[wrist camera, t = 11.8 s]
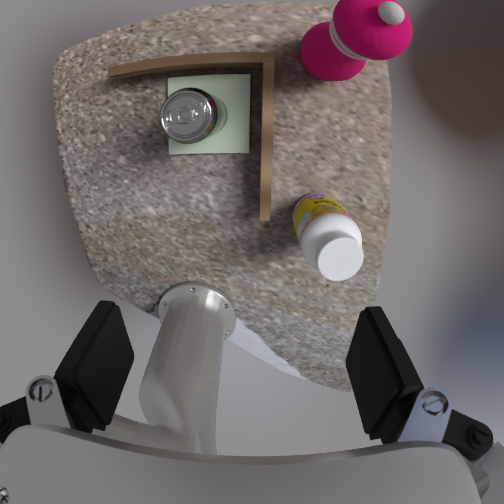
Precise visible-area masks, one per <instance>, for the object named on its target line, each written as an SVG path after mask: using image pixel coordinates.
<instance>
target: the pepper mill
mask: <svg viewBox="0 0 504 504" xmlns="http://www.w3.org/2000/svg"><path fill="white" fill-rule="evenodd" d="M411 37H412V27H411V22H410V19H409V17H408V15H407V13H406V12H405V10H404V9H403V8H402V6H401V5H400V4H399V3H398V2H396V1H395V0H340V1H339V2H338V3H337V5H336V7H335V9H334V12H333V18H332V20H331V22H323V23H319V24H317V25H315V26H313V27H312V28H311V29H310V30H309V31H308V32H307V33H306V34H305V35H304V37H303V39H302V43H301V50H300V60H301V63H302V65H303V67H304V68H305V70H306V71H307V72H308V73H309V74H310V75H312V76H313V77H315V78H318V79H321V80H326V81H329V80H331V81H343V80H347V79H350V78H352V77H354V76H355V75H357V74H358V73H359V72H360V71H361V70H362V68H363V67H364V65H365V63H366V60H370V59H372V60H387V59H391V58H394V57H396V56H398V55H400V54H401V53H402V52H403V51H404V50H405V49H406V48H407V47H408V45H409V43H410V40H411Z"/></svg>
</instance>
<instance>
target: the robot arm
mask: <svg viewBox="0 0 504 504" xmlns="http://www.w3.org/2000/svg"><path fill="white" fill-rule="evenodd" d="M158 315H159V319H160V322H161V324H162V326H161V328H160V331H159V334H158V336H157V339H156V342H155V345H154V348H153V350H152V353H151V356H150V359H149V362H148V365H147V367H146V371H145V373H144V376H143V379H142V382H141V386H140V391H139V399H140V405H141V408H142V411H143V414H144V416H145V418H146V420H147V422H148V424H149V425H148V424H144V423H139V422H137V421H133V420H131V419H128V418H125V417H122V416H120V415H117V414H114V412H115V409H116V407H117V404H118V401H119V399H120V396H121V393H122V390H123V388H124V385H125V382H126V380H127V377H128V374H129V372H130V369H131V366H132V364H133V361H134V352H133V349H132V346H131V343H130V340H129V337H128V334H127V331H126V327H125V325H124V321H123V318H122V314H121V311H120V308H119V306H117V305H116V304H115V302H113V301H102V300H101V301H100V302H99V303H98V304H97V306H96V307H95V309H94V310H93V312H92V313H91V315H90V316H89V318H88V319H87V321H86V322H85V324H84V326H83V327H82V329H81V330H80V332H79V334H78V335H77V337H76V338H75V340H74V341H73V343H72V345H71V347H70V348H69V350H68V351H67V353H66V355H65V357H64V358H63V360H62V362H61V364H60V365H59V367H58V369H57V370H56V372H55V375H54V377H53V378H52V377H51V376H48V375H41V376H38V377H36V378H34V379H33V380H31V381H30V383H29V384H28V386H27V388H26V396H25V397H23V398H20V399H18V400H16V401H13V402H11V403H8V404H6V405H3V406H1V407H0V504H504V447H503V446H502V445H500V443H498V442H497V443H495V444H494V443H493V434H492V432H491V430H490V429H489V428H488V426H486V425H485V424H483V423H481V422H479V421H476V420H474V419H472V418H470V417H468V416H466V415H463V414H461V413H459V412H457V411H455V410H453V409H452V402H451V399H450V397H449V395H448V394H447V393H446V392H445V391H443V390H442V389H440V388H436V387H428V388H425V389H424V386H423V384H422V382H421V380H420V378H419V376H418V374H417V372H416V369H415V368H414V366H413V363H412V361H411V359H410V357H409V355H408V353H407V352H406V349H405V348H404V346H403V344H402V342H401V340H400V339H399V338H397V336H396V334H395V332H394V330H393V328H392V326H391V324H390V322H389V321H388V319H387V317H386V315H385V313H384V311H383V310H382V308H381V307H380V306H375V307H366V308H365V310H364V311H361V312H360V315H359V319H358V322H357V325H356V329H355V332H354V335H353V339H352V342H351V345H350V348H349V351H348V354H347V357H346V368H347V371H348V375H349V378H350V381H351V385H352V388H353V392H354V395H355V399H356V402H357V406H358V409H359V413H360V417H361V421H362V424H363V428H364V432H365V433H366V434H369V436H370V440H374V439H380V438H381V441H382V443H383V445H377V446H371V447H365V448H359V449H352V450H345V451H337V452H328V453H319V454H307V455H294V456H293V455H292V456H258V457H257V456H224V455H217V451H216V436H215V431H216V429H215V428H216V427H215V426H216V410H217V400H218V390H219V380H220V370H221V362H222V351H223V344H224V340H226V339H227V338H228V337H229V336H230V335H231V334H232V332H233V331H234V328H235V325H236V312H235V308H234V306H233V304H232V302H231V301H230V300H229V298H228V297H227V296H226V295H225V294H223V293H222V292H221V291H219V290H218V289H216V288H214V287H212V286H209V285H206V284H202V283H194V282H190V283H182V284H179V285H176V286H174V287H172V288H170V289H169V290H168V291H167V292H166V293H165V294H164V295H163V297H162V299H161V301H160V303H159V307H158Z"/></svg>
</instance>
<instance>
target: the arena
mask: <svg viewBox="0 0 504 504" xmlns="http://www.w3.org/2000/svg"><path fill="white" fill-rule="evenodd" d="M215 68H262V108H261V153H260V193H259V217H260V221H270V206H271V180H272V151H273V117H274V73H275V53H257V52H230V53H206V54H192V55H181V56H172V57H164V58H156V59H150V60H143V61H137V62H132V63H127V64H122V65H117V66H112V67H108V77H113V78H118V79H125V78H130V77H136V76H143V75H149V74H157V73H165V72H173V71H184V70H197V69H215Z"/></svg>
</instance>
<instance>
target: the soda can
mask: <svg viewBox="0 0 504 504" xmlns="http://www.w3.org/2000/svg"><path fill="white" fill-rule="evenodd" d="M227 119H228V111H227V107H226V105H225V104H224V102H223V101H222V100H220V99H219V98H217V97H215V96H213V95H211V94H209V93H207V92H205V91H203V90H201V89H198V88H193V87H188V88H182V89H179V90H177V91H175V92H174V93H172V94H171V95H170V96H169V97H168V98H167V99H166V100H165V102H164V103H163V105H162V108H161V112H160V123H161V126H162V129H163V131H164V132H165V134H166V135H167V136H168V137H169V138H171V139H172V140H174V141H176V142H178V143H182V144H193V143H197V142H199V141H202V140H204V139H206V138H208V137H210V136H212V135H214V134H216V133H218V132H219V131H221V130H222V129H223V127H224V126H225V124H226V122H227Z"/></svg>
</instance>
